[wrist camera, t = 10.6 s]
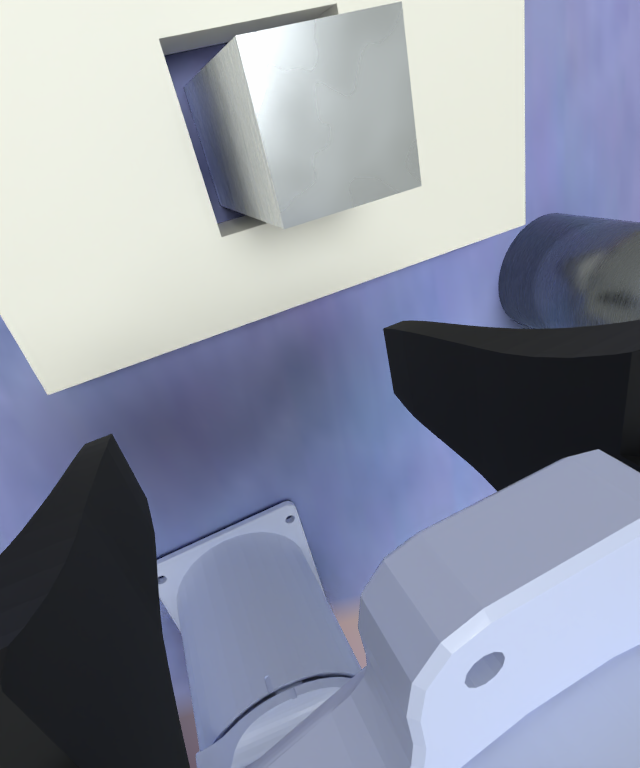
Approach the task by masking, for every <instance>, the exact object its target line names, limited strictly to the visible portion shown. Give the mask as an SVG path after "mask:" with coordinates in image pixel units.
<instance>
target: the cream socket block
mask: <svg viewBox="0 0 640 768" xmlns="http://www.w3.org/2000/svg"><path fill="white" fill-rule="evenodd" d="M401 1H402V8H403V17H404V26H405V36H406V45H407V54H408V64H409V73H410V82H411V91H412V101H413V110H414V119H415V129H416V138H417V147H418V157H419V166H420V175H421V185H422V186H420V187H417V188H414V189H411V190H407V191H404V192H401V193H398V194H395V195H392V196H388V197H385V198H382V199H379V200H376V201H373V202H369V203H366V204H363V205H360V206H357V207H354V208H350V209H347V210H344V211H341V212H338V213H334V214H331V215H328V216H325V217H322V218H319V219H315V220H312V221H309V222H306V223H303V224H300V225H296V226H293V227H290V228H287V229H282V228H280V227H277V226H274V225H272V224H269V223H266V222H264V221H261V220H258V219H256V218H253V217H250V216H248V215H245V216H242V217H238V218H235V219H232V220H228V221H225V222H222V223H218V224H217V221H216V218H215V215H214V212H213V209H212V205H211V202H210V199H209V196H208V193H207V190H206V187H205V183H204V180H203V177H202V174H201V171H200V168H199V164H198V161H197V158H196V155H195V152H194V149H193V146H192V142H191V139H190V136H189V133H188V130H187V127H186V123H185V120H184V117H183V114H182V111H181V108H180V104H179V101H178V98H177V95H176V92H175V89H174V86H173V82H172V79H171V76H170V73H169V70H168V67H167V63H166V60H165V57H164V55H169V54H173V53H178V52H183V51H188V50H193V49H198V48H202V47H207V46H212V45H217V44H222V43H226V42H230V41H231V40H232V39H233V38H234V37H235V36H236V35H241V34H246V33H251V32H256V31H260V30H265V29H270V28H275V27H280V26H285V25H289V24H294V23H299V22H304V21H309V20H314V19H318V18H323V17H328V16H333V15H338V14H343V13H347V12H352V11H357V10H362V9H367V8H372V7H376V6H381V5H386V4H391V3H396V2H401ZM523 225H525V48H524V0H0V315H1V317H2V318H3V320H4V322H5V323H6V325H7V327H8V329H9V330H10V332H11V334H12V335H13V337H14V339H15V340H16V342H17V344H18V345H19V347H20V349H21V350H22V352H23V354H24V356H25V357H26V359H27V361H28V362H29V364H30V366H31V367H32V369H33V371H34V372H35V374H36V376H37V378H38V379H39V381H40V383H41V384H42V386H43V388H44V389H45V391H46V393H47V394H48V395H50V394H52V393H55V392H58V391H61V390H64V389H66V388H69V387H72V386H75V385H78V384H80V383H83V382H86V381H89V380H92V379H94V378H97V377H100V376H103V375H106V374H108V373H111V372H114V371H117V370H120V369H122V368H125V367H128V366H131V365H134V364H136V363H139V362H142V361H145V360H148V359H150V358H153V357H156V356H159V355H162V354H164V353H167V352H170V351H173V350H176V349H178V348H181V347H184V346H187V345H190V344H192V343H195V342H198V341H201V340H204V339H206V338H209V337H212V336H215V335H218V334H220V333H223V332H226V331H229V330H232V329H234V328H237V327H240V326H243V325H246V324H248V323H251V322H254V321H257V320H260V319H262V318H265V317H268V316H271V315H274V314H276V313H279V312H282V311H285V310H288V309H290V308H293V307H296V306H299V305H302V304H304V303H307V302H310V301H313V300H316V299H318V298H321V297H324V296H327V295H330V294H332V293H335V292H338V291H341V290H343V289H346V288H349V287H352V286H355V285H357V284H360V283H363V282H366V281H369V280H371V279H374V278H377V277H380V276H383V275H385V274H388V273H391V272H394V271H397V270H399V269H402V268H405V267H408V266H411V265H413V264H416V263H419V262H422V261H425V260H427V259H430V258H433V257H436V256H439V255H441V254H444V253H447V252H450V251H453V250H455V249H458V248H461V247H464V246H467V245H469V244H472V243H475V242H478V241H481V240H483V239H486V238H489V237H492V236H495V235H497V234H500V233H503V232H506V231H509V230H511V229H514V228H517V227H520V226H523Z"/></svg>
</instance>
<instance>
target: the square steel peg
mask: <svg viewBox="0 0 640 768" xmlns="http://www.w3.org/2000/svg"><path fill="white" fill-rule="evenodd" d="M184 90H185V93H186V97H187V100H188V103H189V106H190V110H191V113H192V116H193V119H194V122H195V126H196V129H197V132H198V135H199V139H200V142H201V145H202V148H203V151H204V155H205V158H206V161H207V164H208V168H209V171H210V174H211V177H212V181H213V184H214V187H215V190H216V193H217V197H218V200H219V203H220V205H221V206H224V207H226V208H229V209H232V210H234V211H237V212H240V213H242V214H245V215H248V216H250V217H253V218H256V219H258V220H261V221H264V222H266V223H269V224H272V225H274V226H277V227H280V228H282V229H287V228H290V227H293V226H296V225H300V224H303V223H306V222H309V221H312V220H315V219H319V218H322V217H325V216H328V215H331V214H334V213H338V212H341V211H344V210H347V209H350V208H354V207H357V206H360V205H363V204H366V203H369V202H373V201H376V200H379V199H382V198H385V197H388V196H392V195H395V194H398V193H401V192H404V191H407V190H411V189H414V188H417V187H420V186H422V185H421V175H420V166H419V157H418V147H417V138H416V129H415V119H414V110H413V101H412V91H411V82H410V73H409V64H408V54H407V45H406V36H405V26H404V17H403V8H402V1H401V2H396V3H391V4H386V5H381V6H376V7H372V8H367V9H362V10H357V11H352V12H347V13H343V14H338V15H333V16H328V17H323V18H318V19H314V20H309V21H304V22H299V23H294V24H289V25H285V26H280V27H275V28H270V29H265V30H260V31H256V32H251V33H246V34H241V35H236V36H235V37H234V38H233V39H232V40H231V41H230V42H229V43H228V44H227V45H226V46H225V47H224V48H223V49H222V50H221V51H220V52H219V53H218V54H217V55H216V56H215V57H214V58H213V59H211V60H210V61H209V62H208V63H207V64H206V65H205V66H204V67H203V68H202V69H201V70H200V71H199V72H198V73H197V74H196V75H195V76H194V77H193V78H192V79H191V80H190V81H189V82H188V83H187V84H186V85H185V86H184Z"/></svg>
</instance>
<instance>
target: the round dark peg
mask: <svg viewBox="0 0 640 768" xmlns="http://www.w3.org/2000/svg"><path fill="white" fill-rule="evenodd" d="M499 297H500V301H501V304H502V307H503V309H504V310H505V312H506V313H507V315H508V316H509V317H510V318H512V319H513V320H515V321H516V322H519V323H521V324H524V325H526V326H529V327H531V328H534V329H553V328H572V327H583V326H595V325H605V324H613V323H621V322H627V321H634V320H640V223H639V222H631V221H622V220H613V219H604V218H595V217H586V216H577V215H568V214H559V213H553V214H547V215H544V216H541V217H539V218H537V219H536V220H534V221H532V222H531V223H530V224H528V225H527V226H526V227H525V228H524V229H523V230H522V231H521V232H520V233H519V234H518V235H517V237H516V238H515V239H514V241H513V242H512V244H511V245H510V247H509V249H508V251H507V253H506V255H505V258H504V260H503V263H502V266H501V270H500V275H499Z"/></svg>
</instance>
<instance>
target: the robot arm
mask: <svg viewBox="0 0 640 768" xmlns="http://www.w3.org/2000/svg"><path fill="white" fill-rule="evenodd" d="M383 330H384V336H385V342H386V348H387V354H388V360H389V366H390V372H391V378H392V384H393V390H394V394H395V395H396V396H397V397H398V399H399V400H400V401H401V402H402V404H403V405H404V406H405V407H406V408H407V409H408V410H409V412H410V413H411V414H412V415H413V416H414V417H415V418H416V419H417V420H418V421H419V422H421V423H422V424H423V425H424V426H425V427H426V428H428V429H429V430H430V431H431V432H432V433H433V434H435V435H436V436H437V437H438V438H439V439H441V440H442V441H443V442H444V443H445V444H446V445H448V446H449V447H450V448H451V449H452V450H454V451H455V452H456V453H457V454H458V455H460V456H461V457H462V458H463V459H464V460H466V461H467V462H468V463H469V464H470V465H471V466H473V467H474V468H475V469H476V470H477V471H478V472H479V473H480V474H481V475H482V476H483V477H484V478H485V479H486V480H487V481H488V482H489V483H490V484H491V485H492V486H493V487H494V488H495V489H496V490H497V492H496V493H494V494H492V495H490V496H488V497H486V498H484V499H482V500H480V501H478V502H476V503H474V504H472V505H471V506H469V507H467V508H465V509H463V510H461V511H459V512H457V513H455V514H453V515H451V516H449V517H447V518H445V519H443V520H441V521H439V522H437V523H435V524H433V525H431V526H430V527H428V528H426V529H424V530H422V531H420V532H418V533H416V534H415V535H413V536H412V537H411V538H409V539H408V540H407V541H405V542H404V543H403V544H401V545H400V546H399V547H397V548H396V549H395V550H393V551H392V552H391V553H389V554H388V555H387V556H386V557H384V559H383V560H382V562H381V563H380V565H379V566H378V568H377V569H376V571H375V572H374V574H373V576H372V577H371V579H370V580H369V582H368V583H367V585H366V586H365V588H364V590H363V592H362V594H361V597H360V609H359V621H358V629H359V632H360V636H361V639H362V643H363V646H364V650H365V653H366V659H367V660H366V661H367V666H365V667H364V668H363V669H361V667H360V665H359V663H358V661H357V659H356V657H355V655H354V653H353V651H352V649H351V647H350V645H349V643H348V641H347V639H346V637H345V635H344V633H343V631H342V629H341V627H340V625H339V623H338V621H337V619H336V617H335V615H334V613H333V611H332V609H331V607H330V605H329V603H328V601H327V599H326V596H325V593H324V590H323V587H322V584H321V581H320V578H319V575H318V572H317V569H316V566H315V563H314V560H313V557H312V554H311V551H310V548H309V545H308V542H307V539H306V536H305V533H304V530H303V527H302V524H301V521H300V518H299V515H298V512H297V509H296V507H295V505H294V504H293V502H291V501H285V502H282V503H280V504H278V505H276V506H274V507H271V508H269V509H267V510H265V511H263V512H260V513H258V514H256V515H254V516H252V517H250V518H247V519H245V520H243V521H241V522H239V523H237V524H234V525H232V526H230V527H228V528H226V529H223V530H221V531H219V532H217V533H215V534H213V535H210V536H208V537H206V538H204V539H202V540H199V541H197V542H195V543H193V544H191V545H189V546H186V547H184V548H182V549H180V550H178V551H176V552H173V553H171V554H169V555H167V556H165V557H162V558H160V559H158V560H157V558H156V545H155V533H154V528H153V524H152V519H151V514H150V510H149V506H148V502H147V498H146V496H145V494H144V493H143V491H142V489H141V487H140V485H139V483H138V481H137V480H136V478H135V476H134V474H133V472H132V470H131V468H130V467H129V465H128V463H127V461H126V459H125V457H124V455H123V454H122V452H121V450H120V448H119V446H118V444H117V442H116V441H115V439H114V437H113V435H112V434H110V435H108V436H105V437H102V438H100V439H97V440H95V441H92V442H89V443H87V444H85V445H84V446H83V447H82V448H81V450H80V451H79V453H78V454H77V455H76V457H75V458H74V460H73V461H72V463H71V464H70V465H69V467H68V468H67V470H66V471H65V473H64V474H63V476H62V477H61V479H60V480H59V482H58V483H57V484H56V486H55V487H54V489H53V490H52V492H51V493H50V494H49V496H48V497H47V499H46V500H45V501H44V502H43V504H42V505H41V506H40V508H39V509H38V510H37V511H36V513H35V514H34V515H33V517H32V518H31V519H30V521H29V522H28V523H27V524H26V526H25V527H24V528H23V530H22V531H21V532H20V533H19V534H18V536H17V537H16V538H15V539H14V540H13V541H12V542H11V544H10V545H9V546H8V547H7V548H6V549H5V550H4V551H3V552H2V553H1V555H0V768H190V766H189V762H188V757H187V753H186V748H185V743H184V739H183V735H182V730H181V725H180V721H179V716H178V711H177V706H176V701H175V696H174V692H173V687H172V682H171V677H170V672H169V666H168V661H167V656H166V650H165V645H164V640H163V634H162V625H161V617H160V603H159V597H160V599H161V601H162V602H163V604H164V606H165V607H166V609H167V611H168V612H169V614H170V616H171V617H172V619H173V621H174V622H175V624H176V626H177V627H178V629H179V631H180V632H181V635H182V641H183V648H184V654H185V660H186V667H187V673H188V679H189V685H190V692H191V698H192V704H193V711H194V717H195V723H196V729H197V735H198V742H199V748H200V751H199V752H198V753H197V754H196V763H197V768H640V320H634V321H627V322H621V323H613V324H605V325H595V326H583V327H572V328H553V329H511V328H493V327H479V326H468V325H458V324H448V323H438V322H428V321H402V322H399V323H397V324H394V325H391V326H389V327H386V328H384V329H383ZM291 515H292V516H291ZM288 516H291V517H290V518H289V519H286V518H287V517H288ZM160 576H164V577H163V578H158V577H160Z"/></svg>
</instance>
